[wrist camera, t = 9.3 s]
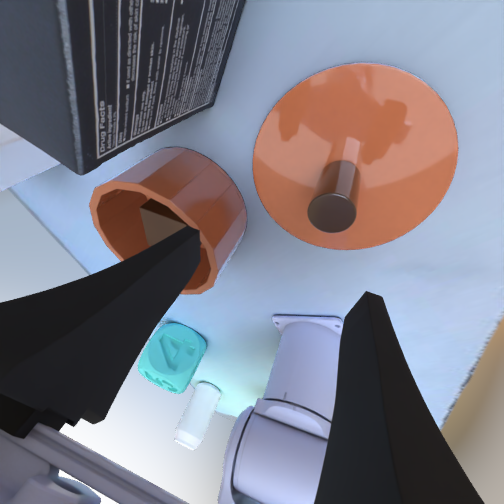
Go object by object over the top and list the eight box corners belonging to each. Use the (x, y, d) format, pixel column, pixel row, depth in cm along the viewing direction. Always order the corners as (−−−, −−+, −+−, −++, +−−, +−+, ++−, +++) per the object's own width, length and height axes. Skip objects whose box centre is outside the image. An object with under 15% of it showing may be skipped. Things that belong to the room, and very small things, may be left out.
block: (211, 197, 21) (186, 224, 18) (210, 232, 24) (188, 261, 21) (169, 182, 21) (138, 207, 19) (173, 218, 24) (147, 244, 21)
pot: (266, 243, 23) (241, 293, 19) (184, 255, 28) (152, 295, 24) (206, 125, 17) (153, 159, 13) (120, 169, 23) (65, 202, 19)
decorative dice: (166, 315, 41) (134, 361, 36) (209, 337, 41) (183, 386, 35) (166, 334, 47) (139, 376, 42) (204, 353, 47) (181, 398, 41)
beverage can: (213, 392, 63) (188, 449, 55) (194, 380, 61) (166, 436, 53) (227, 393, 59) (203, 454, 51) (208, 379, 57) (179, 440, 49)
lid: (454, 228, 16) (475, 288, 12) (290, 248, 22) (273, 292, 18) (453, 3, 10) (491, -3, 7) (230, 115, 16) (189, 143, 13)
